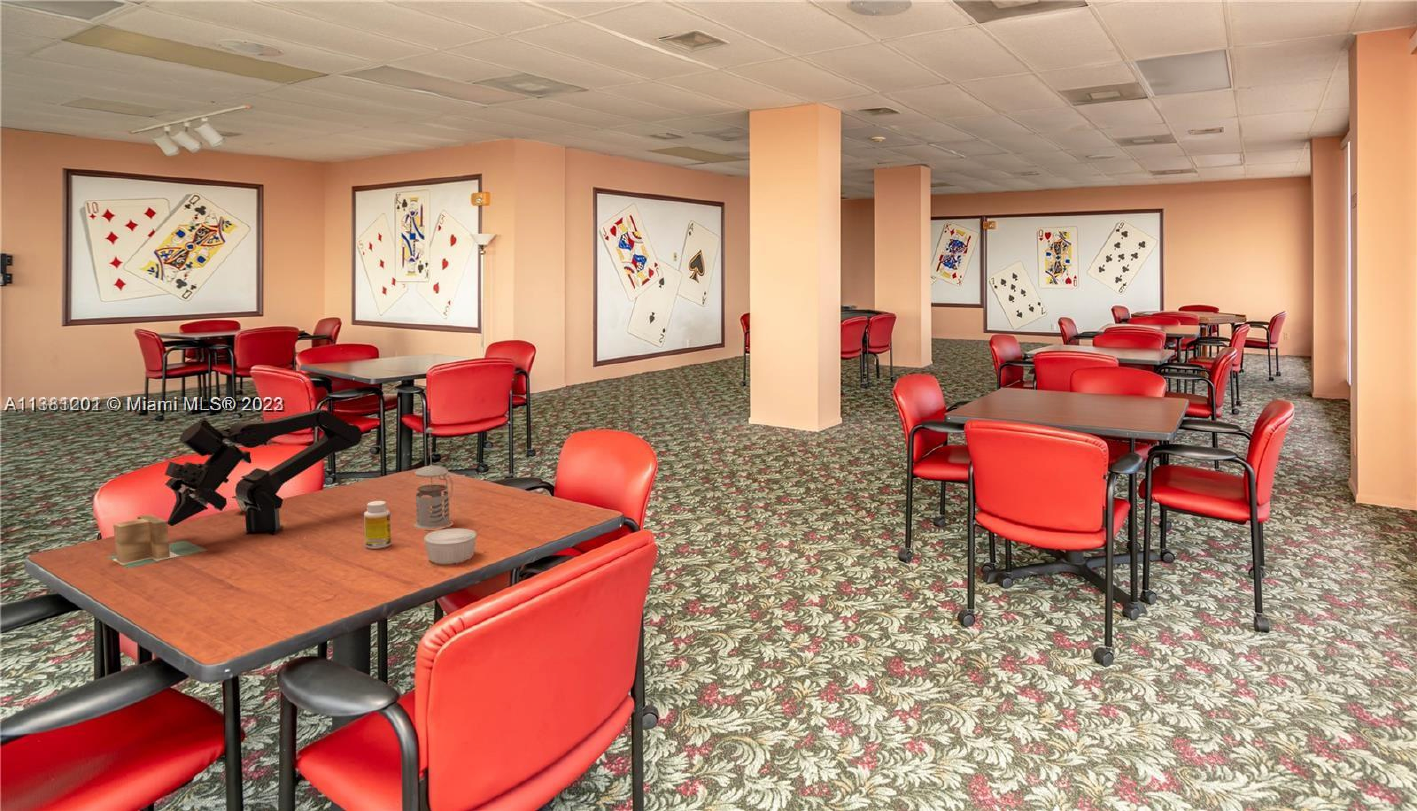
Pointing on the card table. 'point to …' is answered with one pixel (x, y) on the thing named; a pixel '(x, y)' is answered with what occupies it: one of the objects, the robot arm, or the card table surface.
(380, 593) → the card table surface
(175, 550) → the board
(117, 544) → the oak t block
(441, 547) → the ramekin
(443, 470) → the french press
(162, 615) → the card table surface
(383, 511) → the supplement bottle
